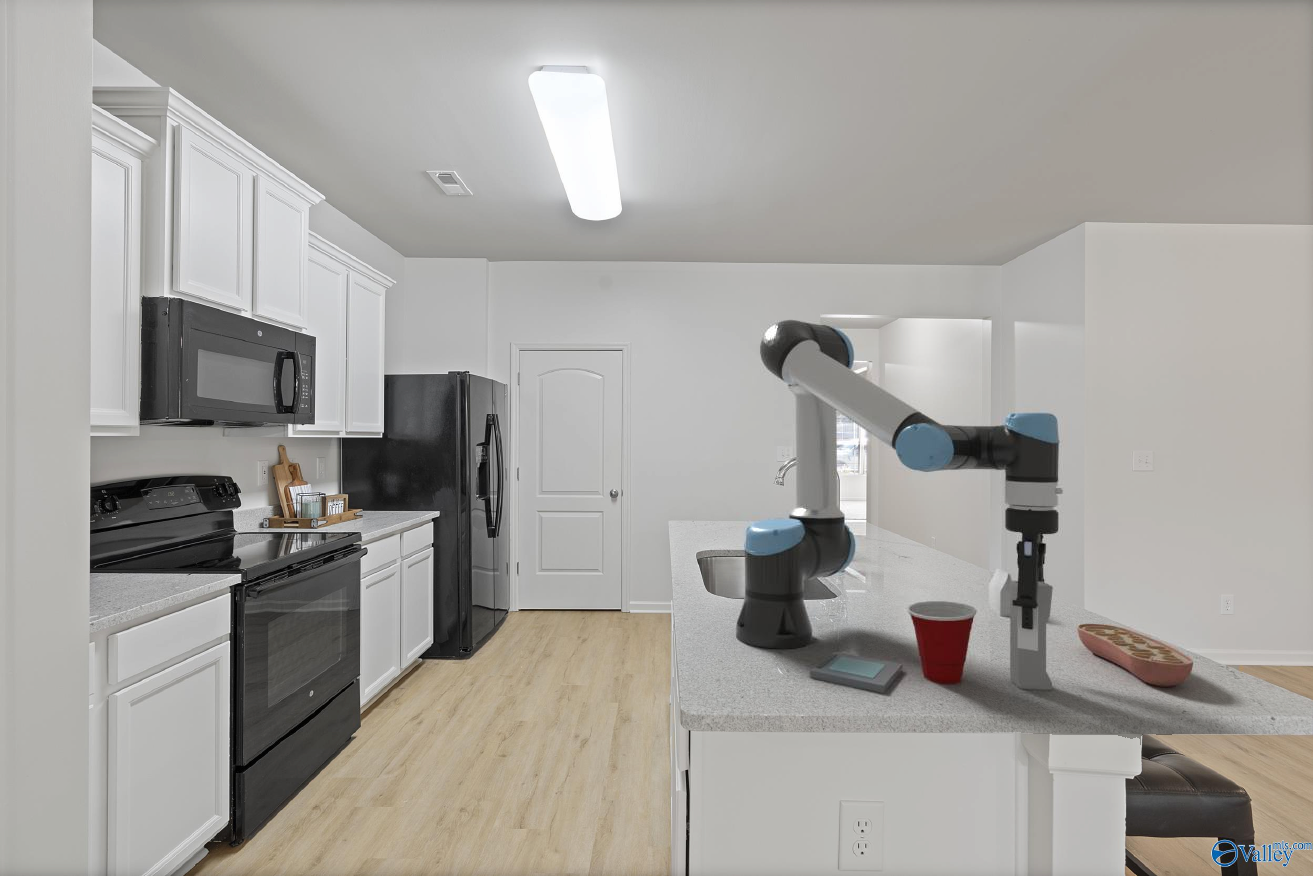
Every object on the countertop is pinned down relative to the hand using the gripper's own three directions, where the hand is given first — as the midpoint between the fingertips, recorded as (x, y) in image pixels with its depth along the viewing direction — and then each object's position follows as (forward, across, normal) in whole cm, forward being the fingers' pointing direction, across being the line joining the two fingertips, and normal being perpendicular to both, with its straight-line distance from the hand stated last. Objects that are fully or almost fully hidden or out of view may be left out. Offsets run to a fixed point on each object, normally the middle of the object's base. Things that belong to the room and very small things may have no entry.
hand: (1031, 638), depth 106 cm
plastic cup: (+8, -5, +13) cm, 16 cm away
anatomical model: (+8, +20, -14) cm, 26 cm away
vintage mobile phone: (+8, 0, 0) cm, 8 cm away
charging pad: (+8, -11, +25) cm, 28 cm away
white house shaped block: (+8, +48, +9) cm, 49 cm away
